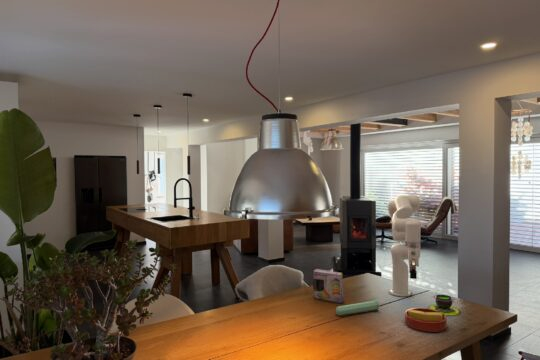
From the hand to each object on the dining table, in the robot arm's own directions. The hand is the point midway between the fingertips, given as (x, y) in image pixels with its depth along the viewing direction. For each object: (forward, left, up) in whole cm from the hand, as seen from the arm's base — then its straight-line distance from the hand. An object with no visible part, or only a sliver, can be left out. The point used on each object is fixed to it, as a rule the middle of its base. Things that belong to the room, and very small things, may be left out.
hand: (412, 275), depth 201 cm
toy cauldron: (-15, +17, -23) cm, 32 cm away
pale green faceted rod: (+3, -29, -23) cm, 37 cm away
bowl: (+9, +6, -22) cm, 25 cm away
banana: (+8, +6, -20) cm, 22 cm away
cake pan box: (-13, -48, -23) cm, 55 cm away
